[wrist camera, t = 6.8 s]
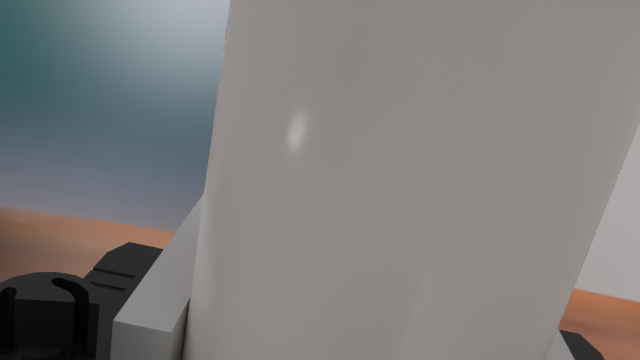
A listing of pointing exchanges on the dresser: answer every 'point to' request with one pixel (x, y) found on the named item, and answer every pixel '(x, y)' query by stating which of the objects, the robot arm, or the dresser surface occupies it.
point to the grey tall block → (408, 175)
